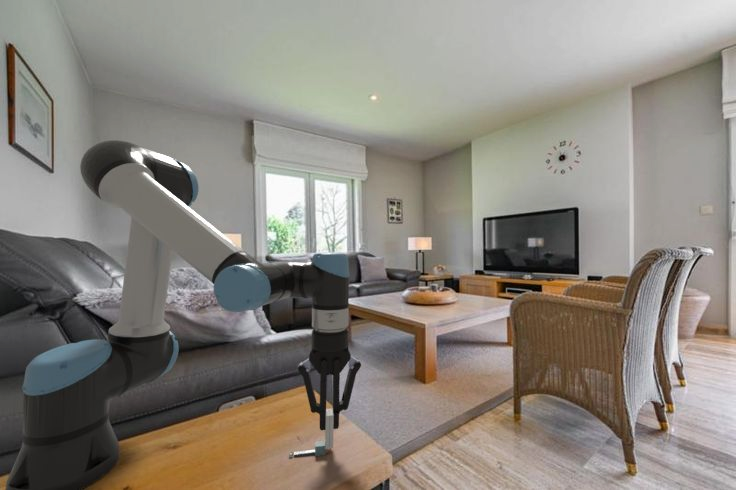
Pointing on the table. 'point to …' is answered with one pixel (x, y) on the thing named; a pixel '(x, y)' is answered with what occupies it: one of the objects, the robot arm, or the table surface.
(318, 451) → the teal matte cube
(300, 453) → the bar
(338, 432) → the table surface
